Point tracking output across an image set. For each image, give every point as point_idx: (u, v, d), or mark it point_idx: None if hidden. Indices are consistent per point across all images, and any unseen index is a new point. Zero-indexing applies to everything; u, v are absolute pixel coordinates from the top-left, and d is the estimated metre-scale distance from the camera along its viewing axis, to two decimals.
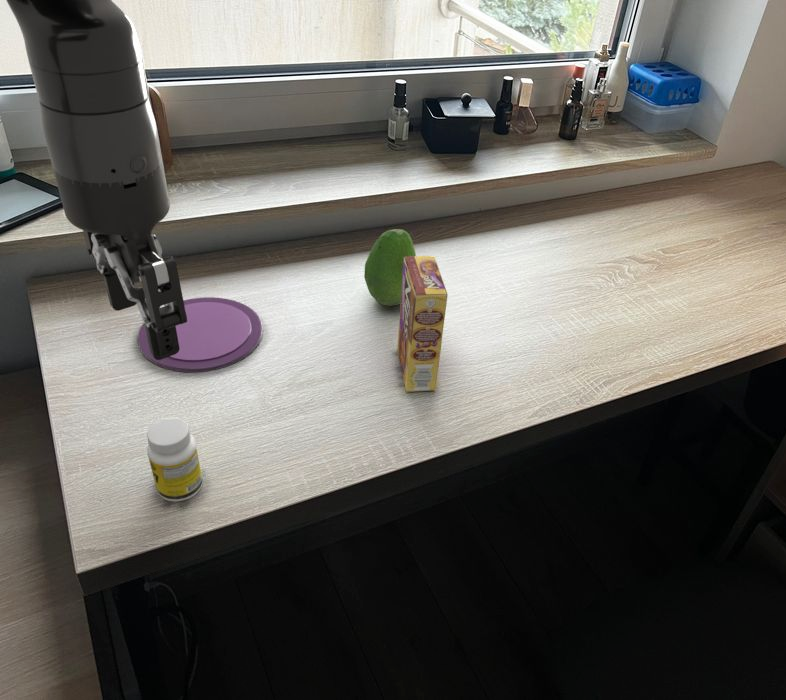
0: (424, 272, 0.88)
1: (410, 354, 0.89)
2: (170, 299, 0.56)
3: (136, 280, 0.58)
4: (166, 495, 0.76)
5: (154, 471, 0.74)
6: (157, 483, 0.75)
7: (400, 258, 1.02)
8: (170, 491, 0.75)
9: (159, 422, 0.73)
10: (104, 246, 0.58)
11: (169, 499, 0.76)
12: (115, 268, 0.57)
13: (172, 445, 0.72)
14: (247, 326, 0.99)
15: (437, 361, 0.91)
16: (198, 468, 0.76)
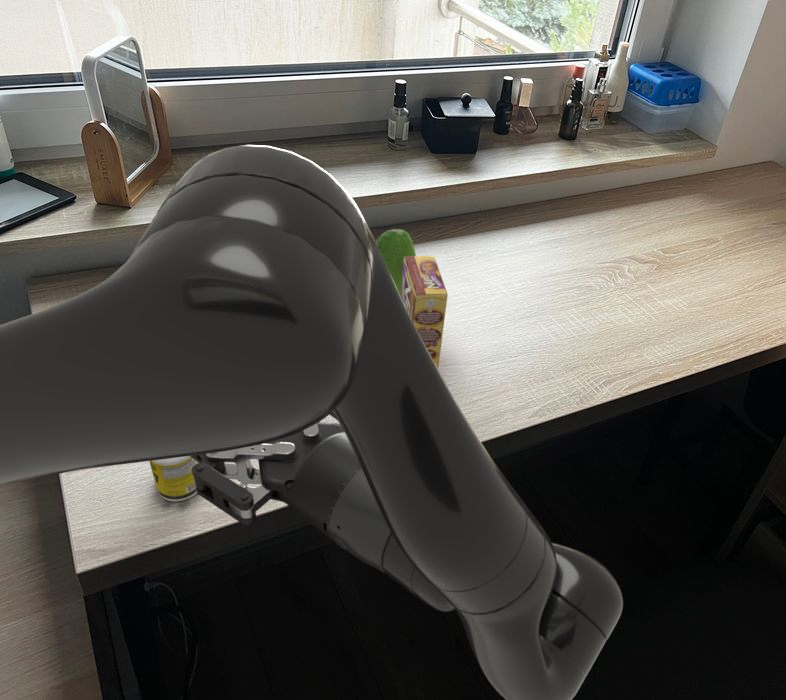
0: (424, 272, 0.88)
1: None
2: (216, 499, 0.55)
3: None
4: (166, 495, 0.76)
5: (154, 471, 0.74)
6: (157, 483, 0.75)
7: (400, 258, 1.02)
8: (170, 491, 0.75)
9: None
10: (303, 435, 0.58)
11: (169, 499, 0.76)
12: (272, 448, 0.56)
13: None
14: None
15: (437, 361, 0.91)
16: None
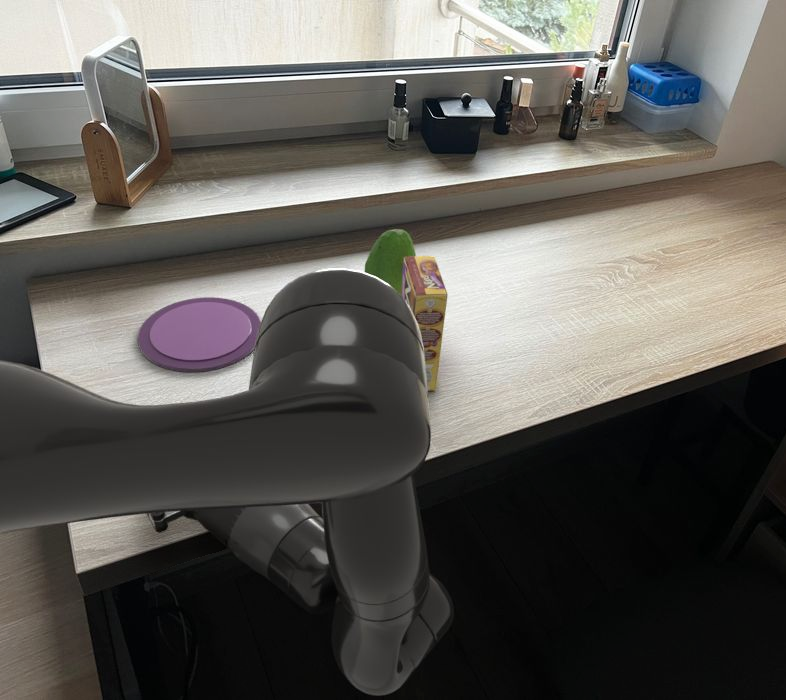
0: (424, 272, 0.88)
1: None
2: None
3: None
4: None
5: None
6: None
7: (400, 258, 1.02)
8: None
9: None
10: None
11: None
12: None
13: None
14: (247, 326, 0.99)
15: (437, 361, 0.91)
16: None
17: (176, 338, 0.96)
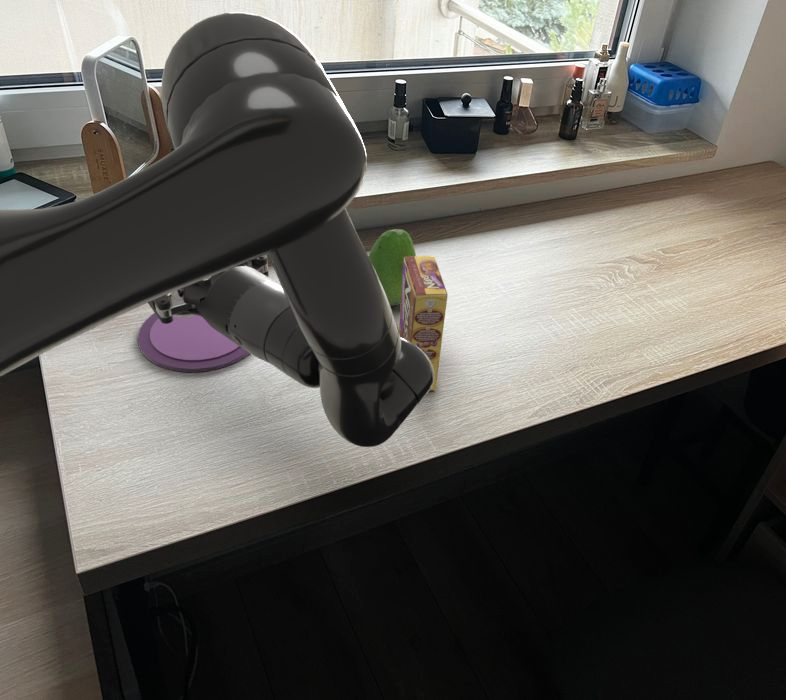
0: (424, 272, 0.88)
1: None
2: (150, 301, 0.74)
3: None
4: None
5: None
6: None
7: (400, 258, 1.02)
8: None
9: None
10: None
11: (174, 315, 0.81)
12: None
13: None
14: None
15: (437, 361, 0.91)
16: None
17: (176, 338, 0.96)
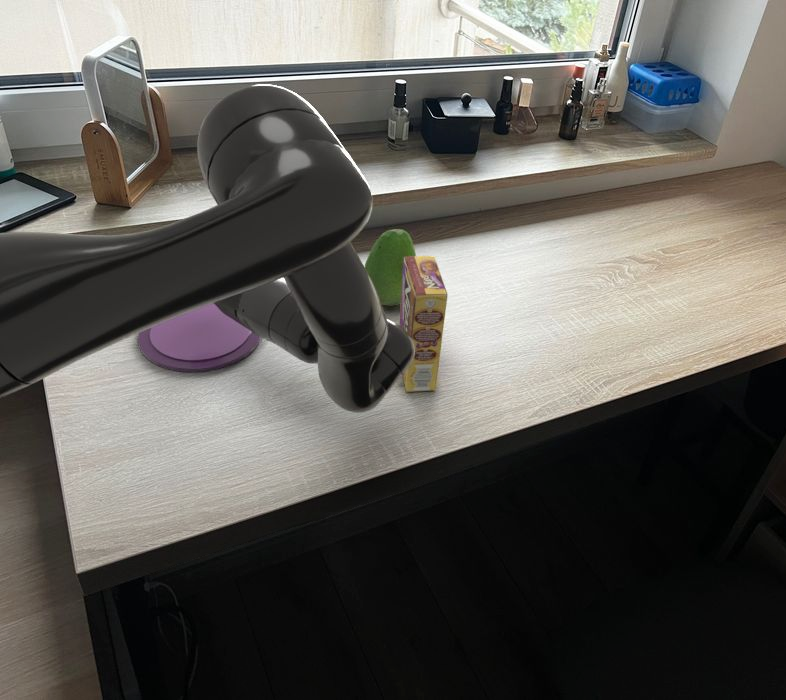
0: (424, 272, 0.88)
1: None
2: None
3: None
4: None
5: None
6: None
7: (400, 258, 1.02)
8: None
9: None
10: None
11: None
12: None
13: None
14: None
15: (437, 361, 0.91)
16: None
17: (176, 338, 0.96)
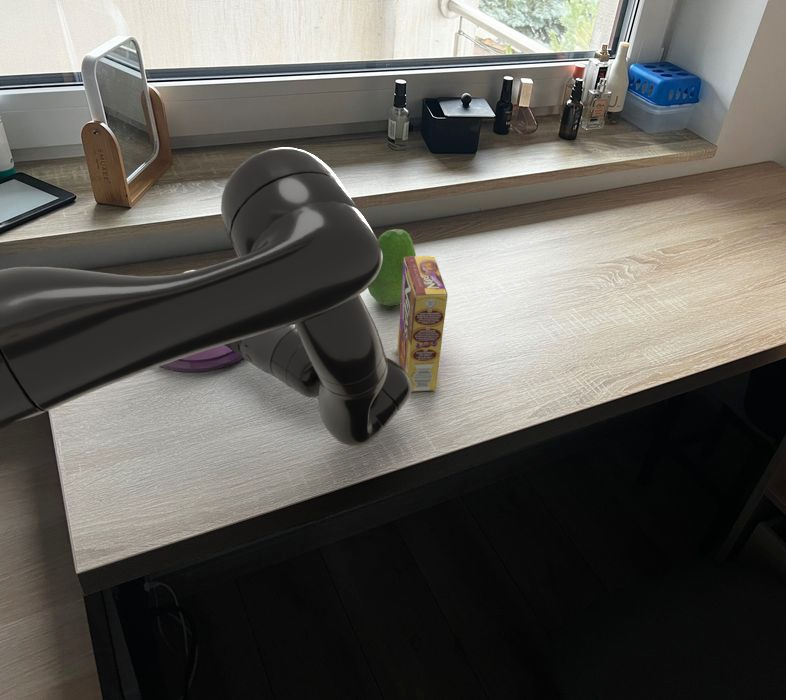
0: (424, 272, 0.88)
1: (410, 354, 0.89)
2: None
3: None
4: None
5: None
6: None
7: (400, 258, 1.02)
8: None
9: None
10: None
11: None
12: None
13: None
14: None
15: (437, 361, 0.91)
16: None
17: None
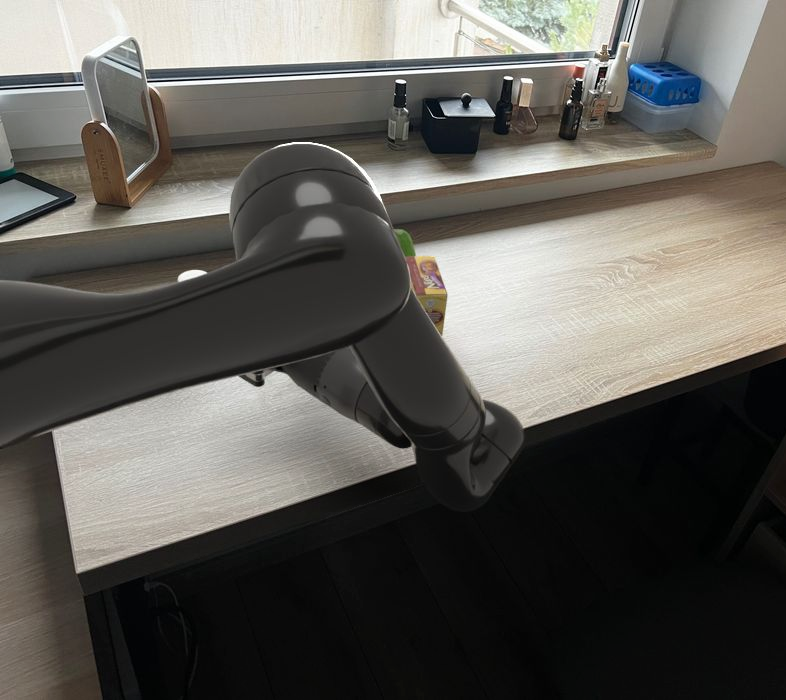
0: (424, 272, 0.88)
1: None
2: None
3: None
4: None
5: None
6: None
7: None
8: None
9: (187, 272, 0.93)
10: None
11: None
12: None
13: None
14: None
15: None
16: None
17: None
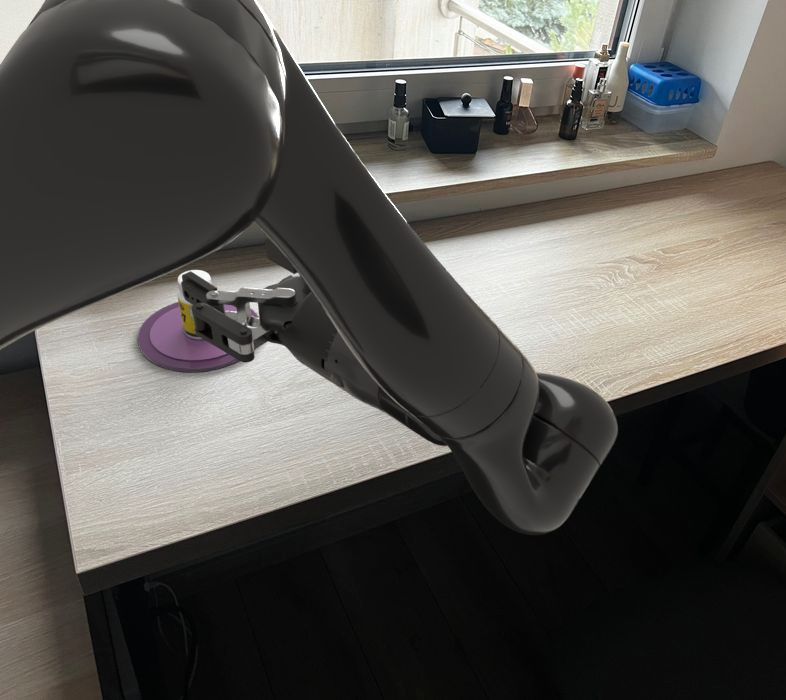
0: None
1: None
2: (215, 337, 0.55)
3: None
4: (191, 333, 0.95)
5: (182, 311, 0.94)
6: (184, 323, 0.95)
7: None
8: None
9: (187, 272, 0.93)
10: (304, 285, 0.58)
11: (194, 337, 0.96)
12: (273, 293, 0.56)
13: None
14: None
15: None
16: None
17: (176, 338, 0.96)
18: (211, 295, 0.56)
